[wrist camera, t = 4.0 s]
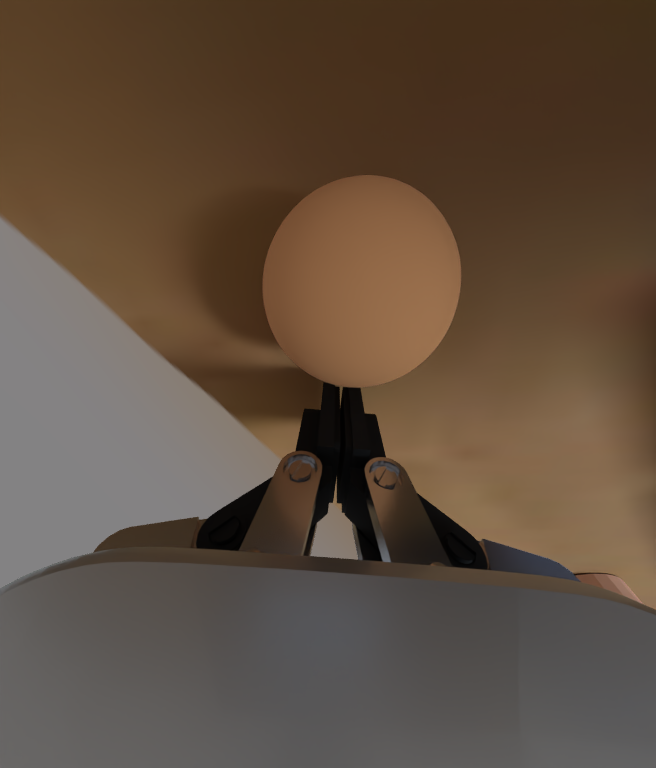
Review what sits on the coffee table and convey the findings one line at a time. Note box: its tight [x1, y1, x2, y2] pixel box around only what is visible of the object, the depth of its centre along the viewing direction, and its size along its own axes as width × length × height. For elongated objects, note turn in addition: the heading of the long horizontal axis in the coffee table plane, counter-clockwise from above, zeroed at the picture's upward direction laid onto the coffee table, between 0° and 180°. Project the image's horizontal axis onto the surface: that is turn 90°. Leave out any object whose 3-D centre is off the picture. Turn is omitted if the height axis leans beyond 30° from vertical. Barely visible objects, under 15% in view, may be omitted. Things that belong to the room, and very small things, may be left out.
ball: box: [262, 175, 461, 388], centre depth 7 cm, size 6×6×6 cm
